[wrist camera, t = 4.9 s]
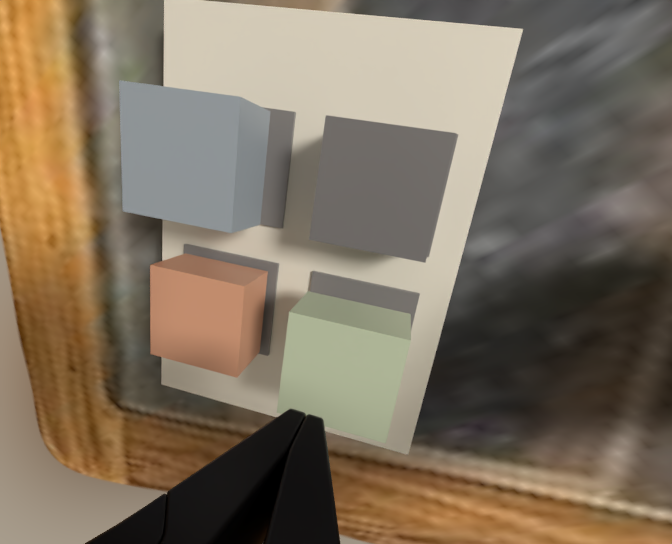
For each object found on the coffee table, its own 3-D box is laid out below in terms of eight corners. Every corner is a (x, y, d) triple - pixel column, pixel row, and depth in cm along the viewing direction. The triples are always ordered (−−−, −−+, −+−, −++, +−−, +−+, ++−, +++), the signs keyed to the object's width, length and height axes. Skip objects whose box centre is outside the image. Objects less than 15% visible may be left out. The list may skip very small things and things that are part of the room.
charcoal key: (448, 141, 14) (456, 133, 11) (422, 249, 15) (425, 262, 13) (339, 125, 14) (325, 115, 12) (324, 230, 16) (309, 239, 13)
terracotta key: (267, 271, 17) (244, 286, 14) (259, 351, 18) (237, 377, 16) (185, 253, 17) (150, 264, 15) (183, 332, 19) (150, 353, 16)
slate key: (270, 111, 13) (240, 96, 11) (260, 224, 15) (231, 233, 12) (167, 97, 14) (119, 80, 12) (166, 206, 15) (122, 211, 13)
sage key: (410, 314, 14) (410, 340, 12) (389, 403, 16) (385, 443, 13) (308, 291, 15) (289, 312, 13) (295, 378, 16) (276, 412, 14)
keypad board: (508, 48, 15) (524, 26, 12) (408, 429, 20) (408, 457, 18) (191, 17, 17) (161, -6, 15) (182, 367, 23) (159, 386, 21)
